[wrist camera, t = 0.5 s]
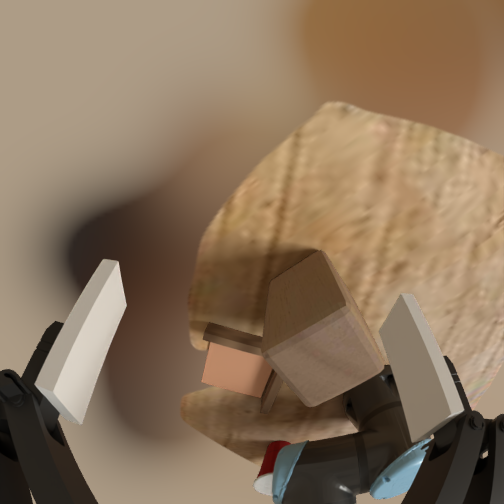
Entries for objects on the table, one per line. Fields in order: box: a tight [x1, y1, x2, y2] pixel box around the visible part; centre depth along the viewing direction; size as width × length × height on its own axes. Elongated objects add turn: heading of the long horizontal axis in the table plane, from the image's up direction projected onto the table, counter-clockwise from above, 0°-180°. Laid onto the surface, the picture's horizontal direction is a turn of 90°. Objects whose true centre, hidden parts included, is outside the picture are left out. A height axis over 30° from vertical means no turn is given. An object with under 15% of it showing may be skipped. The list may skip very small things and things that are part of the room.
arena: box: [203, 322, 283, 414], centre depth 49 cm, size 15×15×4 cm
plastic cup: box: [253, 441, 290, 496], centre depth 50 cm, size 11×11×12 cm
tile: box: [201, 342, 273, 398], centre depth 50 cm, size 12×12×1 cm
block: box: [261, 250, 384, 407], centre depth 36 cm, size 10×10×20 cm
